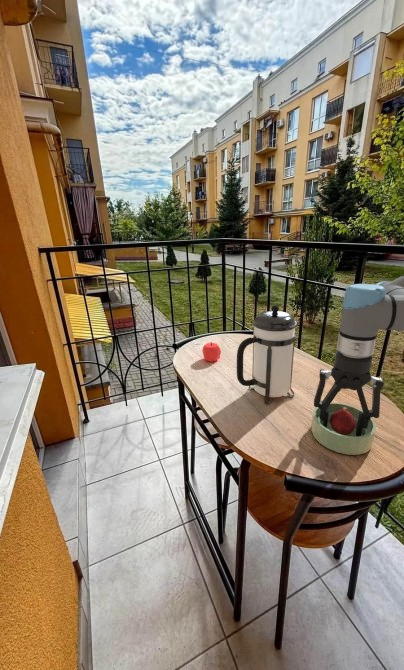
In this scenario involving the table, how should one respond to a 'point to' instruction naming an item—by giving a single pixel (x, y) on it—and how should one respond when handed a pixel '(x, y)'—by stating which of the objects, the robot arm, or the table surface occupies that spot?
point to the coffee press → (270, 354)
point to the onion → (342, 422)
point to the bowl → (343, 442)
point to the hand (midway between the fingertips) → (340, 433)
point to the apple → (211, 352)
